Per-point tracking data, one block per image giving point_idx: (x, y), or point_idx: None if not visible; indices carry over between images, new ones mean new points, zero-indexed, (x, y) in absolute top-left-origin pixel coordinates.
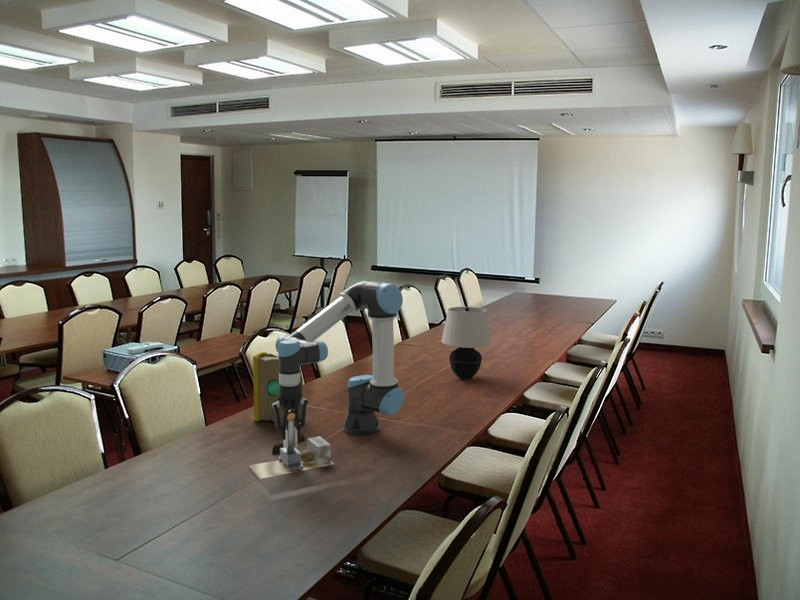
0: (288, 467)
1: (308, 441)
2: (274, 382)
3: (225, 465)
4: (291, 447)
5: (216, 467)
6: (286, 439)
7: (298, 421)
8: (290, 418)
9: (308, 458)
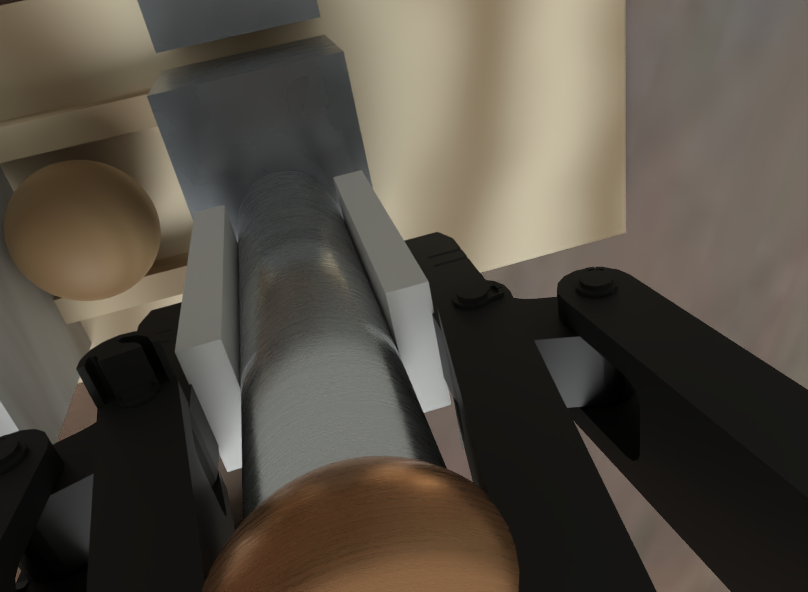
0: (319, 12)
1: (35, 424)
2: None
3: (723, 323)
4: (283, 191)
5: (781, 301)
6: (381, 221)
7: (112, 501)
8: (394, 488)
9: (62, 163)
